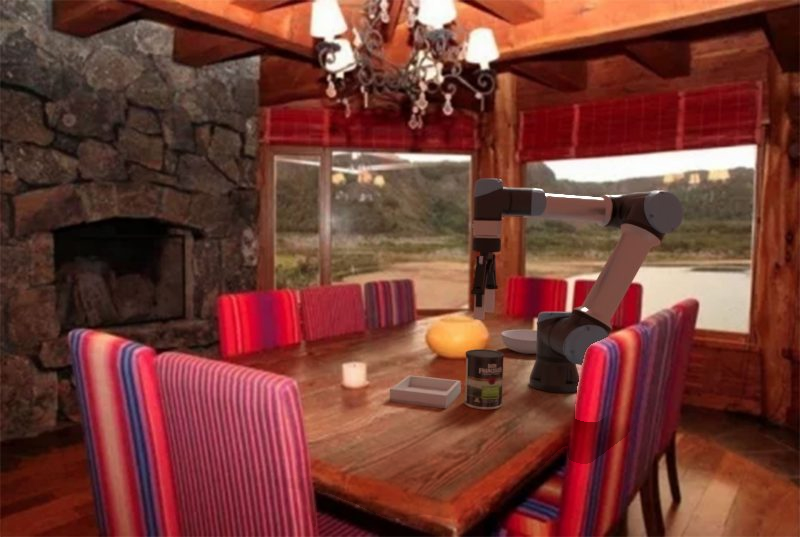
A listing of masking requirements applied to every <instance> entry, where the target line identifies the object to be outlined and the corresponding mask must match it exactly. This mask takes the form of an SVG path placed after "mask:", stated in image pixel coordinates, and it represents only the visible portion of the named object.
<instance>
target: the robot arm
mask: <svg viewBox="0 0 800 537" xmlns="http://www.w3.org/2000/svg"><path fill="white" fill-rule="evenodd" d="M502 217H503V218H504V217H511V218H527V219H529V218H530V219H541V220H556V221H567V222H568V221H569V222H581V223H582V222H584V223H593V224H595V223H596V225H598V227H603V228H604V227H605V228H611V229H617V230H621V233H622V234H621V236H620V237H619V240H618V242H617V243H616V244H615V247H614V248H613V250H612V251H611V254H610V255H609V257H608V259H607V260H606V263H605V264H604V266H603V267H602V269H601V271H600V273H599V274H598V276H597V278H596V280H595V282H594V284H593V286H592V287H591V289H590V290H589V293H588V294H587V296H586V298H585V299H584V301H583V303H582V304H581V306H577V307H574V308H573V309H572V311H541V312H539V313H538V315H537V320H536V331H537V344H536V354H535V362H534V364H533V367H532V370H531V371H530V375H529V383H528V384H529V386H530V387H532V388H533V389H536V390H540V391H542V392H549V393H557V394H559V393H561V394H564V393H565V394H569V393H570V394H571V393H575V392H578V391H577V386H578V382H579V377H580V374H579V370H578V367H577V365H579V366H582V363H583V359H584V355H585V352H586V350H587V348H588V347H589V346H590V345H591V344H593V343H595V342H597V341H600V340H602V339H604V338H606V337H608V336H609V337H610V334H611V332H612V330H613V327H612V324H611V320H612V318H613V316H614V315H615V314H616V312H617V311H618V307H619V306H620V304H621V302H622V300H623V299H624V297H625V295H626V294H627V292H628V290H629V288H630V286H631V285H632V283H633V282H634V279H635V278H636V276H637V274H638V273H639V271H640V269H641V267H642V265H643V264H644V262H645V259H646V258H647V256H648V254H649V252H650V251H651V248H654V247H657V246H660V245H661V243H662V241H663V240H664V238H665V236H666V234H670V233H673V232H674V231H676V230H677V229H678V228H680V226H681V225H682V223H683V219H684V208H683V206H682V202H681V200H680V199H679V197H678V196H677V195H676V194H675V193H673V192H671V191H667V190H660V189H656V190H651V191H642V192H640V191H638V192H629V193H622V194H602V195H600V196H599V197H593V196H584V195H583V196H581V195H568V194H557V193H556V194H555V193H546V192H545V191H544V189H542V188H535V187H508V186H504V181H503V180H502V179H501V178H491V177H490V178H489V177H488V178H480V179H479V178H478V179H476V181H475V183H474V190H473V220H472V221H473V223H472V224H471V225H470V228H472V235H473V236H474V237H473V238H472V246H471V247H472V251H473V252H476V253H479V255H477V256H476V258H475V263H476V264H475V271H474V278H473V284H472V285H473V286H472V290H471V291H470V292H471V295H474V296H473V301H474V302H473V320H476V321H477V320H480V321H482V320H483V321H484V320H485V317H486V314H485V313H490V314H492V313H493V314H494V313H495V303H496V302H495V301H496V290H498V289H499V285H498V284H497V268H496V257H497V256H496V254H495V253H499V252H501V251H502V246H501V245H502V239H501V238H500V237H501V236H502V231H503V230H502V224H503V222H502V221H503V218H502ZM493 253H494V254H493Z"/></svg>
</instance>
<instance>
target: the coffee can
mask: <svg viewBox="0 0 800 537" xmlns="http://www.w3.org/2000/svg"><path fill="white" fill-rule="evenodd" d="M504 357H505V353H503V352H501V351H498V350H492V349H479V348H478V349H470V350H467V351H466V352H465V377H464V378H465V382H464V383H465V386H464V404H465V406H467V407H469V408H472V409H477V410H485V411H487V410H488V411H489V410H497V409H499V408H502V406H503V404H502V403H503V380H504V379H503V377H504V376H503V375H504Z"/></svg>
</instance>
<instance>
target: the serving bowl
mask: <svg viewBox="0 0 800 537" xmlns="http://www.w3.org/2000/svg"><path fill="white" fill-rule="evenodd" d="M500 335H501V340H502V342H503V345H504V346H506V348H508V349H509V350H511V351H513V352H516V353H518V354H524V355H536V344H537V330H533V329H509V330H504V331H502V332H501V334H500Z"/></svg>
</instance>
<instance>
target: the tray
mask: <svg viewBox="0 0 800 537" xmlns="http://www.w3.org/2000/svg"><path fill="white" fill-rule="evenodd" d="M461 388H462V380H459V379H458V380H457V379H448V378H438V377H430V376H420V375H411V374H408V375H406V377H404V378H403V379H402V380H400V381H399V382H397V383H396V384H395V385H393V386H392V387H390V389H389V402H391V403H399V404H407V405H416V406H421V407H422V406H424V407H430V408H440V409H447V408H448V407H449V406H450V405H451V404H452V403H453V402H454V401H455V400H456V399H457V397H458V396H459V395H460V394H461V393H462V391H461V390H462V389H461Z"/></svg>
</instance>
